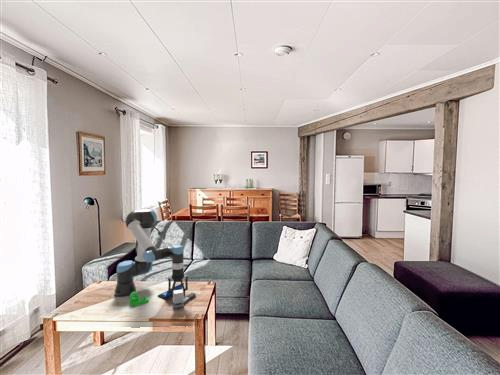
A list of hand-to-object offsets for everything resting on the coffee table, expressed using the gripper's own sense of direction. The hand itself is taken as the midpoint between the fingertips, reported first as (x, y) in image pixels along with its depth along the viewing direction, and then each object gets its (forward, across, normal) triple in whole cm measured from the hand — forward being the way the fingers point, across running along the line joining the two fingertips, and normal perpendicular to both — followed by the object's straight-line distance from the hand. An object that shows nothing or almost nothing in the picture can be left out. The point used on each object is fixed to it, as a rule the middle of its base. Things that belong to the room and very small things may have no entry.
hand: (178, 300), depth 190 cm
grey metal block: (0, 0, 0) cm, 0 cm away
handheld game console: (+5, -3, +21) cm, 22 cm away
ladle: (+4, 0, 0) cm, 4 cm away
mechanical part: (+5, -25, +16) cm, 30 cm away
